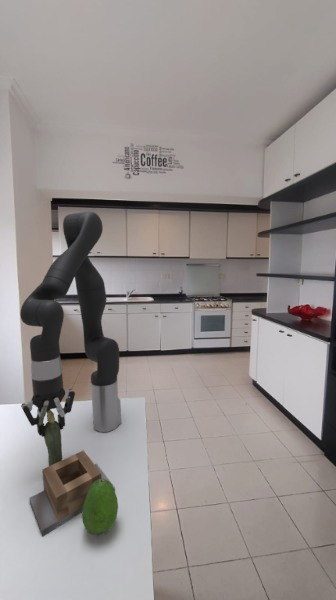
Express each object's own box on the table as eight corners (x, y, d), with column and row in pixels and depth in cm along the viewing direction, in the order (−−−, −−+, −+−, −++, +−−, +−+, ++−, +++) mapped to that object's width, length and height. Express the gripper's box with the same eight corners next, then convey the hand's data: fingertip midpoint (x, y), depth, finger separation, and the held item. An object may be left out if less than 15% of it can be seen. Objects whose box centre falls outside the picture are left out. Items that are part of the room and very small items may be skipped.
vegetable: (67, 470, 79) (62, 406, 76) (56, 481, 75) (51, 414, 72) (54, 466, 81) (49, 403, 78) (43, 477, 77) (37, 411, 74)
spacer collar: (96, 468, 80) (95, 444, 79) (115, 492, 72) (113, 466, 71) (29, 503, 69) (27, 476, 68) (42, 536, 60) (39, 506, 59)
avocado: (120, 539, 60) (118, 490, 58) (83, 550, 57) (79, 500, 56) (116, 507, 67) (114, 463, 65) (83, 516, 65) (80, 471, 63)
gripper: (68, 362, 81) (72, 416, 83) (14, 376, 72) (20, 435, 74) (78, 370, 75) (82, 427, 78) (20, 386, 66) (27, 450, 69)
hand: (51, 431), depth 76 cm, fingers closed on vegetable, 4 cm apart
